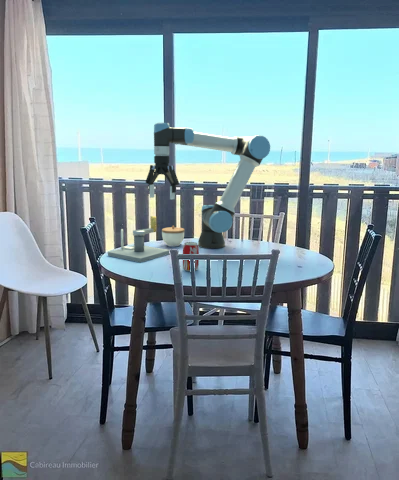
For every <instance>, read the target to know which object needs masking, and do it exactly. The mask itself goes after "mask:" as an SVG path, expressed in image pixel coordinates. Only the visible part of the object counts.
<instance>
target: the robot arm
mask: <svg viewBox="0 0 399 480" xmlns="http://www.w3.org/2000/svg"><path fill="white" fill-rule="evenodd" d="M170 144H173V145H181V146H187V147H196V148H202V149H208V150H213V151H214V150H216V151H221V152H223V151H224V152H228V153H231V154H232V155H235V156H239V159H240V160H239V162H238V164H237V166H236V168H235V169H234V172H233V173H232V176H231V178H230V179H229V182H228V183H227V185H226V187H225V189H224V192H223V193H222V196H220V199H219V201H217V202H215V203H214V204H208V205H207V204H204V205H202V206H201V210H200V211H201V230H200V231H201V232H200V235H199V239H198V242H197V245H198V247H199V248H206V249H221V248H224V247H226V241H225V238H224V233H226V232H228V231H229V230H230V229H231V228H232V227H233V217H234V216H235V213H236V211H235V210H236V209H235V207H236V206H237V204H238V202H239V199H240V198H241V196H242V195H243V192H244V190H245V188H246V186H247V184H248V182H249V180H250V178H251V176H252V174H253V173H254V170H255V169H256V167H259V166H260V165H261V163H262V162H263V159H265V158H267V156H269V154H270V152H271V144H270V141H269V140H268V138H267V137H266V136H264V135H260V134H256V135H249V136H233V137H229V136H224V135H223V136H222V135H217V134H210V133H203V132H199V131H198V132H197V131H194V129H193V128H192V127H171V126H170V123H169V122H155V123H154V126H153V152H154V153H153V154H154V156H153V160H154V161H153V162H154V164H150V166H149V170H148V174H147V176H146V179H145V184H147V185H148V191H149V198H150V199H151V198H155V184H154V183H155V181H156V180H157V178H158V176H159V175H164V176H165V177H166V178H165V179H167V180H168V181H167V182H169V184H170V186H169V200H176V197H175V195H176V192H177V190H176V189H177V187H176V186H179V185H180V182H179V179H178V177H177V174H176V171H175V165H169V164H170Z"/></svg>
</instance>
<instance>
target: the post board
mask: <svg viewBox="0 0 399 480" xmlns="http://www.w3.org/2000/svg"><path fill="white" fill-rule="evenodd" d="M124 245H125V244H124V229H123V228H121V229H120V248H119V249H115V250H110V251H107V256H108V257H112V258H118V259H122V260H127V261H131V262H135V263H144V262H147V261H151V260H153V259H158V258H160V257H164V255H165V256H167V255H170V254H169V250H170V249H165V248H159V247H154V246H150V245H145V235H144V236H134V235H133V245H129V246H127V245H126V246H124Z"/></svg>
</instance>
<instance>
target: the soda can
mask: <svg viewBox="0 0 399 480" xmlns="http://www.w3.org/2000/svg"><path fill="white" fill-rule="evenodd" d="M199 248H200V246H198V242H194V241H186V242H184V244H183V247H182V255H183V254H199V255H200V252H199V251H200V250H199ZM199 262H200V260H195V261H194V263H195V271H197V270H198V269H199V264H200V263H199ZM182 269H183V270H185V271H186V272H191V271H190V261H189V260H183V259H182ZM195 271H194V272H195Z"/></svg>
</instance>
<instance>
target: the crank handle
mask: <svg viewBox="0 0 399 480" xmlns="http://www.w3.org/2000/svg"><path fill="white" fill-rule="evenodd" d="M149 218H150V227H149V228H142V229H134V230H132V236H133V237H134V236H144V237H145V236H146V235H147V234H152V233H157V216H156V215H151V216H150V217H149Z"/></svg>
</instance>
